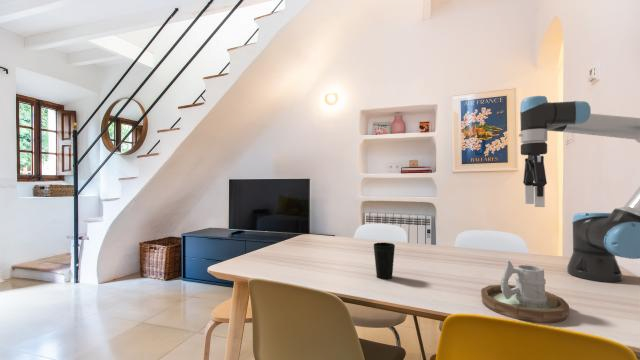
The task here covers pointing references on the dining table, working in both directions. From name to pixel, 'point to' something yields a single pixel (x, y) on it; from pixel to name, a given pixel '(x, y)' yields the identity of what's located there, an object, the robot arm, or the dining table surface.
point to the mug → (525, 285)
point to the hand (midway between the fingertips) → (534, 205)
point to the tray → (510, 308)
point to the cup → (384, 260)
